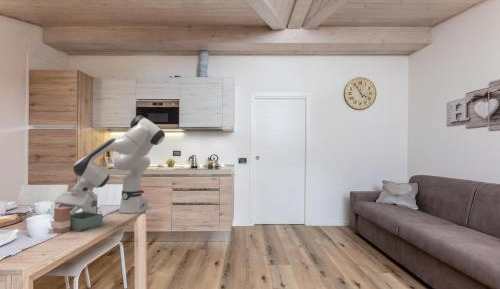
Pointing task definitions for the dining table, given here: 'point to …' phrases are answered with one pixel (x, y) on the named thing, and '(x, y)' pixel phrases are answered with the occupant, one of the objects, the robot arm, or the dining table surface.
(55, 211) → the salmon pink two-tone box
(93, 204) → the syrup box
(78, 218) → the tray
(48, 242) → the dining table surface
